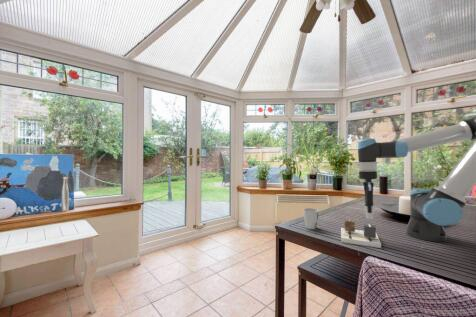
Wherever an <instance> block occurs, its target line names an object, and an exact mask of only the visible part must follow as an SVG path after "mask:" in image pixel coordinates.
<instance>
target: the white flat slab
mask: <svg viewBox="0 0 476 317" xmlns="http://www.w3.org/2000/svg"><path fill="white" fill-rule="evenodd" d="M340 239H341V240H340V241H341V243H344V244H345V243H346V244H351V245H359V246H364V247H365V246H366V247H372V248H377V249H378V248H379V249H382V243H381V240H380V238H379V236H378V234H377V233H376V238H370V237H364V229H363V230H361V229H360V230H359V229H355V232H351V231H345V227H340Z"/></svg>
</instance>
